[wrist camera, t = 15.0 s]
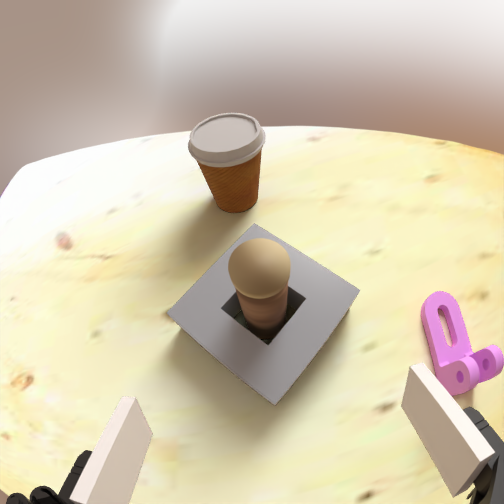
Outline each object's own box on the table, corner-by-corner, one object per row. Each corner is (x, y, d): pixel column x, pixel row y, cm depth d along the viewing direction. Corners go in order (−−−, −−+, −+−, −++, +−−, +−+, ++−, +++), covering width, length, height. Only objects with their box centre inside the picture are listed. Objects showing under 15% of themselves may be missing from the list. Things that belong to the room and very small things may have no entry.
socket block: (257, 246, 38) (254, 223, 33) (349, 307, 32) (360, 290, 28) (180, 327, 33) (166, 312, 28) (275, 406, 27) (274, 404, 23)
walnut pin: (263, 294, 34) (255, 228, 23) (294, 316, 32) (303, 258, 21) (237, 323, 32) (215, 269, 21) (269, 347, 31) (264, 305, 20)
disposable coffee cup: (254, 229, 39) (245, 161, 29) (193, 212, 42) (171, 149, 32) (277, 182, 44) (275, 115, 33) (222, 170, 46) (209, 108, 36)
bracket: (472, 383, 25) (506, 371, 19) (439, 398, 25) (472, 390, 19) (447, 292, 32) (473, 266, 26) (415, 300, 32) (439, 274, 26)
